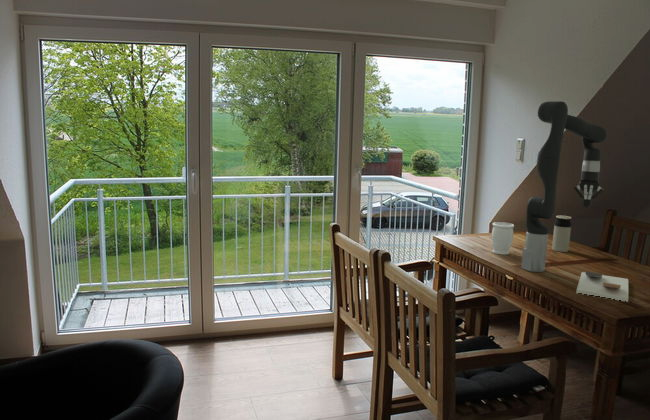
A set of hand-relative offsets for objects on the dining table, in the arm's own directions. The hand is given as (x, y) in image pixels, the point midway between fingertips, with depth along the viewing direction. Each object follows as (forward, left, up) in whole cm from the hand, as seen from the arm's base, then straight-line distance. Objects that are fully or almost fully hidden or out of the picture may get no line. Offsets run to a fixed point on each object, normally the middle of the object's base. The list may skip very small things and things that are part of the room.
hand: (586, 207), depth 254 cm
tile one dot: (-15, -22, -26) cm, 37 cm away
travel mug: (+10, +23, -28) cm, 37 cm away
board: (-21, -32, -27) cm, 47 cm away
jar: (-25, +27, -28) cm, 46 cm away
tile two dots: (-21, -36, -26) cm, 49 cm away
